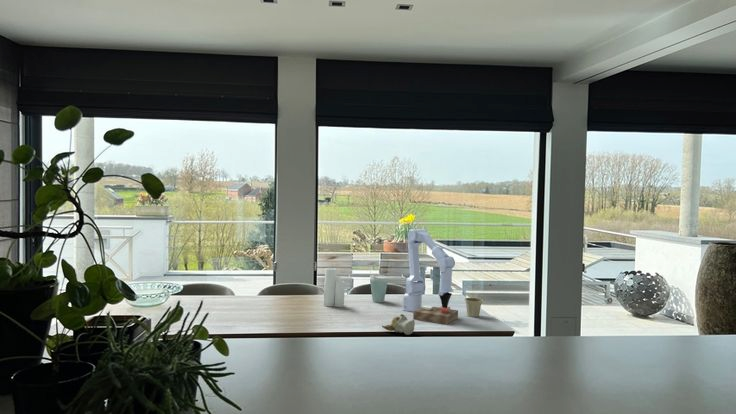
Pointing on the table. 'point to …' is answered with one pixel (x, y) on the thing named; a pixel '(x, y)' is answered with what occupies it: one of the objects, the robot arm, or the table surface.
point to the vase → (333, 288)
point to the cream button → (427, 307)
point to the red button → (444, 309)
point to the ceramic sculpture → (401, 325)
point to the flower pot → (473, 306)
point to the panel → (435, 315)
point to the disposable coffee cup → (378, 287)
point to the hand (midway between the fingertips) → (444, 307)
